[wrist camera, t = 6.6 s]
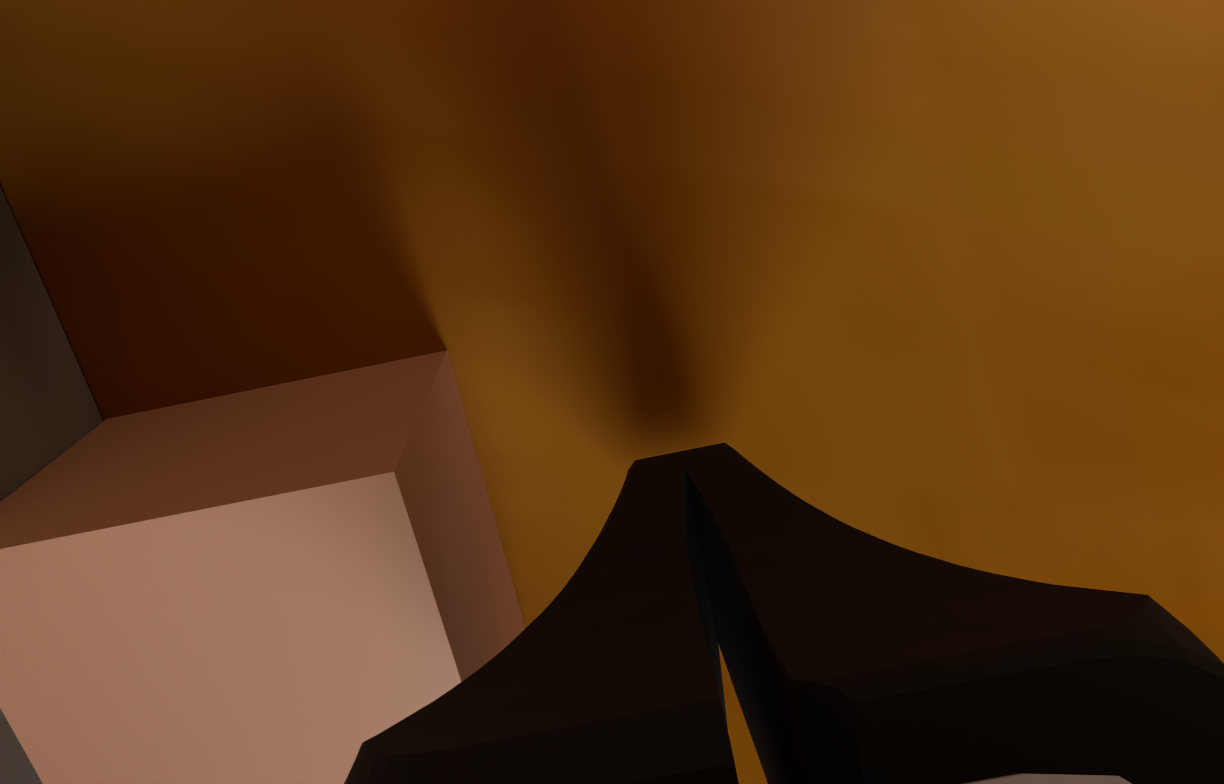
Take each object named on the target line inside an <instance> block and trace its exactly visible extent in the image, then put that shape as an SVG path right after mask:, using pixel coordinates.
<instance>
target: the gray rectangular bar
mask: <svg viewBox="0 0 1224 784" xmlns="http://www.w3.org/2000/svg"><path fill="white" fill-rule="evenodd" d="M102 422H103V419H102V417H101V415H100V412H99V410H98V408H97V406H96V403H95V401H94V399H93V396H92V394H91V392H90V390H89V387H88V385H87V383H86V381H85V378H84V376H83V374H82V371H81V369H80V367H79V365H78V362H77V360H76V358H75V355H74V353H73V351H72V349H71V346H70V344H69V342H68V339H67V337H66V335H65V333H64V330H63V328H62V326H61V323H60V321H59V319H58V317H57V314H56V312H55V310H54V307H53V305H52V303H51V301H50V298H49V296H48V294H47V291H46V289H45V287H44V285H43V282H42V280H41V278H40V275H39V273H38V271H37V269H36V266H35V264H34V262H33V259H32V257H31V255H30V253H29V250H28V248H27V246H26V243H25V241H24V239H23V237H22V234H21V232H20V230H19V227H18V225H17V223H16V221H15V218H14V216H13V214H12V211H11V209H10V207H9V205H8V202H7V200H6V198H5V195H4V193H3V191H2V189H1V186H0V502H1V501H2V500H3V499H5V498H6V497H7V496H9V495H10V494H11V493H12V492H14V491H15V490H16V489H17V488H19V487H20V486H21V485H23V484H24V483H25V482H26V481H28V480H29V479H30V478H32V477H33V476H34V475H35V474H37V473H38V472H39V471H41V470H42V469H43V468H44V467H46V466H47V465H48V464H50V463H51V462H52V461H53V460H55V459H56V458H57V457H58V456H60V455H61V454H62V453H64V452H65V451H66V450H67V449H69V448H70V447H71V446H73V445H74V444H75V443H76V442H78V441H79V440H80V439H82V438H83V437H84V436H85V435H87V434H88V433H89V432H91V431H92V430H93V429H94V428H96V427H97V426H98V425H99V424H101V423H102ZM0 784H43V783H42V781H41V779H40V778H39V776H38V774H37V772H36V771H35V769H34V767H33V765H32V763H31V762H30V760H29V758H28V756H27V755H26V753H25V751H24V749H23V747H22V746H21V744H20V742H19V740H18V739H17V737H16V735H15V733H14V731H13V730H12V728H11V726H10V724H9V723H8V721H7V719H6V717H5V715H4V714H3V712H2V710H1V708H0Z"/></svg>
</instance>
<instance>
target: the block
mask: <svg viewBox="0 0 1224 784" xmlns="http://www.w3.org/2000/svg"><path fill="white" fill-rule="evenodd" d="M524 629H525V625H524V621H523V618H522V614H521V611H520V607H519V604H518V600H517V597H516V593H515V589H514V586H513V582H512V579H511V575H510V572H509V568H508V565H507V561H506V557H505V554H504V550H503V547H502V543H501V540H500V536H499V532H498V529H497V525H496V522H495V518H494V515H493V511H492V508H491V504H490V500H489V497H488V493H487V490H486V486H485V483H484V479H483V476H482V472H481V468H480V465H479V461H478V458H477V454H476V451H475V447H474V443H473V440H472V436H471V433H470V429H469V426H468V422H467V419H466V415H465V411H464V408H463V404H462V401H461V397H460V394H459V390H458V387H457V383H456V379H455V376H454V372H453V369H452V365H451V362H450V358H449V354H448V351H447V350H446V351H441V352H436V353H431V354H426V355H421V356H416V357H411V358H406V359H401V360H396V361H391V362H387V363H382V364H377V365H372V366H367V367H362V368H357V369H352V370H347V371H342V372H337V373H332V374H327V375H322V376H317V377H312V378H307V379H302V380H297V381H292V382H287V383H282V384H277V385H272V386H267V387H262V388H257V389H253V390H248V391H243V392H238V393H233V394H228V395H223V396H218V397H213V398H208V399H203V400H198V401H193V402H188V403H183V404H178V405H173V406H168V407H163V408H158V409H153V410H148V411H143V412H138V413H133V414H128V415H123V416H118V417H114V418H109V419H106V420H105V421H103V422H102V423H101V424H99V425H98V426H97V427H96V428H94V429H93V430H92V431H91V432H89V433H88V434H87V435H85V436H84V437H83V438H82V439H80V440H79V441H78V442H76V443H75V444H74V445H73V446H71V447H70V448H69V449H67V450H66V451H65V452H64V453H62V454H61V455H60V456H58V457H57V458H56V459H55V460H53V461H52V462H51V463H50V464H48V465H47V466H46V467H44V468H43V469H42V470H41V471H39V472H38V473H37V474H35V475H34V476H33V477H32V478H30V479H29V480H28V481H26V482H25V483H24V484H23V485H21V486H20V487H19V488H17V489H16V490H15V491H14V492H12V493H11V494H10V495H9V496H7V497H6V498H5V499H3V500H2V501H1V502H0V708H1V710H2V712H3V714H4V715H5V717H6V719H7V721H8V723H9V724H10V726H11V728H12V730H13V731H14V733H15V735H16V737H17V739H18V740H19V742H20V744H21V746H22V747H23V749H24V751H25V753H26V755H27V756H28V758H29V760H30V762H31V763H32V765H33V767H34V769H35V771H36V772H37V774H38V776H39V778H40V779H41V781H42V783H43V784H344V783H345V781H346V778H347V776H348V774H349V772H350V770H351V768H352V765H353V763H354V761H355V759H356V757H357V754H358V752H359V749H360V747H361V745H362V743H363V742H364V741H366V740H368V739H370V738H372V737H374V736H376V735H377V734H379V733H381V732H383V731H384V730H386V729H388V728H389V727H391V726H393V725H394V724H396V723H398V722H399V721H401V720H403V719H404V718H406V717H408V716H410V715H411V714H413V713H415V712H416V711H418V710H420V709H421V708H423V707H425V706H426V705H428V704H430V703H431V702H433V701H434V700H436V699H437V698H439V697H440V696H442V695H443V694H445V693H446V692H448V691H449V690H451V689H452V688H454V687H455V686H456V685H458V684H459V683H461V682H462V681H463V680H465V679H466V678H467V677H469V676H470V675H472V674H473V673H474V672H476V671H477V670H478V669H480V668H481V667H482V666H483V665H485V664H486V663H487V662H488V661H490V660H491V659H492V658H493V657H495V656H496V655H497V654H498V653H500V652H501V651H502V650H503V649H504V648H505V647H506V646H507V645H508V644H510V643H511V642H512V641H513V640H514V639H515V638H516V637H517V636H518V635H519V634H520V633H521V632H522V631H523V630H524Z"/></svg>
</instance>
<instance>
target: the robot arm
mask: <svg viewBox="0 0 1224 784" xmlns="http://www.w3.org/2000/svg"><path fill="white" fill-rule="evenodd" d="M718 643H719V646H720V649H721V652H722V655H723V658H724V660H725V663H726V666H727V669H728V672H729V675H730V677H731V680H732V683H733V686H734V689H735V692H736V694H737V697H738V700H739V703H740V706H741V709H742V711H743V714H744V717H745V720H746V723H747V726H748V728H749V731H750V734H751V737H752V740H753V742H754V745H755V748H756V751H757V754H758V757H759V759H760V762H761V765H762V768H763V771H764V774H765V776H766V779H767V783H768V784H1224V663H1222V661H1221V660H1220V659H1219V658H1218V657H1217V656H1216V655H1215V654H1214V653H1213V652H1212V651H1211V650H1210V649H1209V648H1208V647H1207V646H1206V645H1205V644H1204V643H1203V642H1202V641H1201V640H1200V639H1199V638H1198V637H1197V636H1196V635H1194V634H1193V633H1192V632H1191V631H1190V630H1189V629H1188V628H1187V627H1186V626H1184V625H1183V624H1182V623H1181V622H1180V621H1178V620H1177V619H1176V618H1175V617H1174V616H1172V615H1171V614H1170V613H1169V612H1168V611H1166V610H1165V609H1164V608H1163V607H1162V606H1160V605H1159V604H1158V603H1157V602H1155V601H1154V600H1153V599H1152V598H1151V597H1149V596H1148V595H1143V594H1133V593H1124V592H1115V591H1106V590H1097V589H1088V588H1079V587H1070V586H1060V585H1052V584H1046V583H1040V582H1035V581H1029V580H1024V579H1019V578H1014V577H1008V576H1003V575H998V574H993V573H989V572H984V571H980V570H976V569H972V568H968V567H964V566H960V565H956V564H953V563H949V562H946V561H943V560H939V559H936V558H933V557H929V556H926V555H923V554H920V553H916V552H913V551H910V550H908V549H905V548H902V547H899V546H896V545H894V544H891V543H889V542H886V541H884V540H881V539H879V538H877V537H874V536H872V535H870V534H867V533H865V532H863V531H860V530H858V529H855V528H853V527H851V526H849V525H847V524H845V523H843V522H841V521H839V520H837V519H835V518H833V517H831V516H830V515H828V514H826V513H824V512H822V511H821V510H819V509H817V508H815V507H813V506H812V505H810V504H808V503H806V502H805V501H803V500H802V499H800V498H799V497H797V496H796V495H794V494H793V493H791V492H790V491H788V490H787V489H785V488H784V487H782V486H781V485H779V484H778V483H777V482H775V481H774V480H772V479H771V478H770V477H768V476H767V475H766V474H764V473H763V472H762V471H760V470H759V469H758V468H757V467H755V466H754V465H753V464H751V463H750V462H749V461H748V460H747V459H745V458H744V457H743V456H742V455H740V454H739V453H738V452H737V451H736V450H734V449H733V448H732V447H730V446H729V445H727V444H726V443H721V444H716V445H711V446H706V447H700V448H695V449H690V450H685V451H680V452H675V453H670V454H665V455H660V456H655V457H650V458H645V459H640V460H635V461H634V463H633V464H632V465H631V467H630V468H629V470H628V473H627V477H626V479H625V482H624V485H623V487H622V490H621V492H620V494H619V497H618V499H617V501H616V503H615V505H614V507H613V509H612V511H611V513H610V515H609V517H608V519H607V521H606V523H605V525H604V527H603V529H602V530H601V532H600V534H599V536H598V538H597V539H596V541H595V543H594V544H593V546H592V547H591V549H590V550H589V552H588V554H587V555H586V557H585V558H584V560H583V561H582V563H581V564H580V566H579V568H578V569H577V571H576V572H575V573H574V575H573V576H572V578H571V579H570V580H569V582H568V583H567V584H566V586H565V587H564V588H563V590H562V591H561V592H560V593H559V594H558V595H557V597H556V598H555V599H554V600H553V601H552V602H551V604H550V605H549V606H548V607H547V608H546V609H545V610H544V611H543V612H542V613H541V614H540V615H539V616H538V617H537V618H536V619H535V620H534V621H533V622H532V623H531V624H530V625H529V626H528V627H526V628H525V629H524V630H523V631H522V632H521V633H520V634H519V635H518V636H517V637H516V638H515V639H514V640H513V641H512V642H511V643H510V644H508V645H507V646H506V647H505V648H504V649H503V650H502V651H501V652H500V653H498V654H497V655H496V656H495V657H493V658H492V659H491V660H490V661H488V662H487V663H486V664H485V665H483V666H482V667H481V668H480V669H478V670H477V671H476V672H474V673H473V674H472V675H470V676H469V677H467V678H466V679H465V680H463V681H462V682H461V683H459V684H458V685H456V686H455V687H454V688H452V689H451V690H449V691H448V692H446V693H445V694H443V695H442V696H440V697H439V698H437V699H436V700H434V701H433V702H431V703H430V704H428V705H426V706H425V707H423V708H421V709H420V710H418V711H416V712H415V713H413V714H411V715H410V716H408V717H406V718H404V719H403V720H401V721H399V722H398V723H396V724H394V725H393V726H391V727H389V728H388V729H386V730H384V731H383V732H381V733H379V734H377V735H376V736H374V737H372V738H370V739H368V740H366V741H364V742H363V743H362V745H361V747H360V749H359V752H358V754H357V757H356V759H355V761H354V763H353V765H352V768H351V770H350V772H349V774H348V776H347V778H346V781H345V783H344V784H739V783H738V778H737V773H736V768H735V763H734V758H733V753H732V748H731V744H730V739H729V735H728V729H727V720H726V710H725V701H724V692H723V683H722V673H721V664H720V655H719V646H718Z"/></svg>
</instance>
